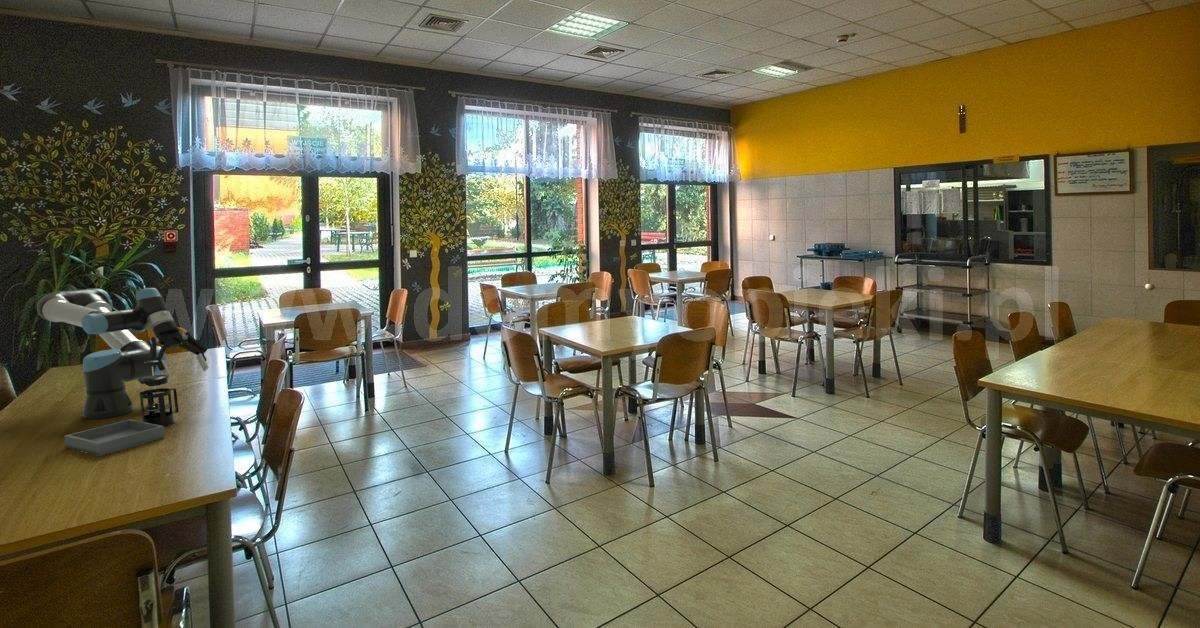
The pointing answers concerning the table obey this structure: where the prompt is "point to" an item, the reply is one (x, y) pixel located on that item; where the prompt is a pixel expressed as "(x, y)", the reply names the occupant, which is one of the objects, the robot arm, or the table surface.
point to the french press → (162, 416)
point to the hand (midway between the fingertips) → (188, 373)
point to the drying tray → (114, 437)
